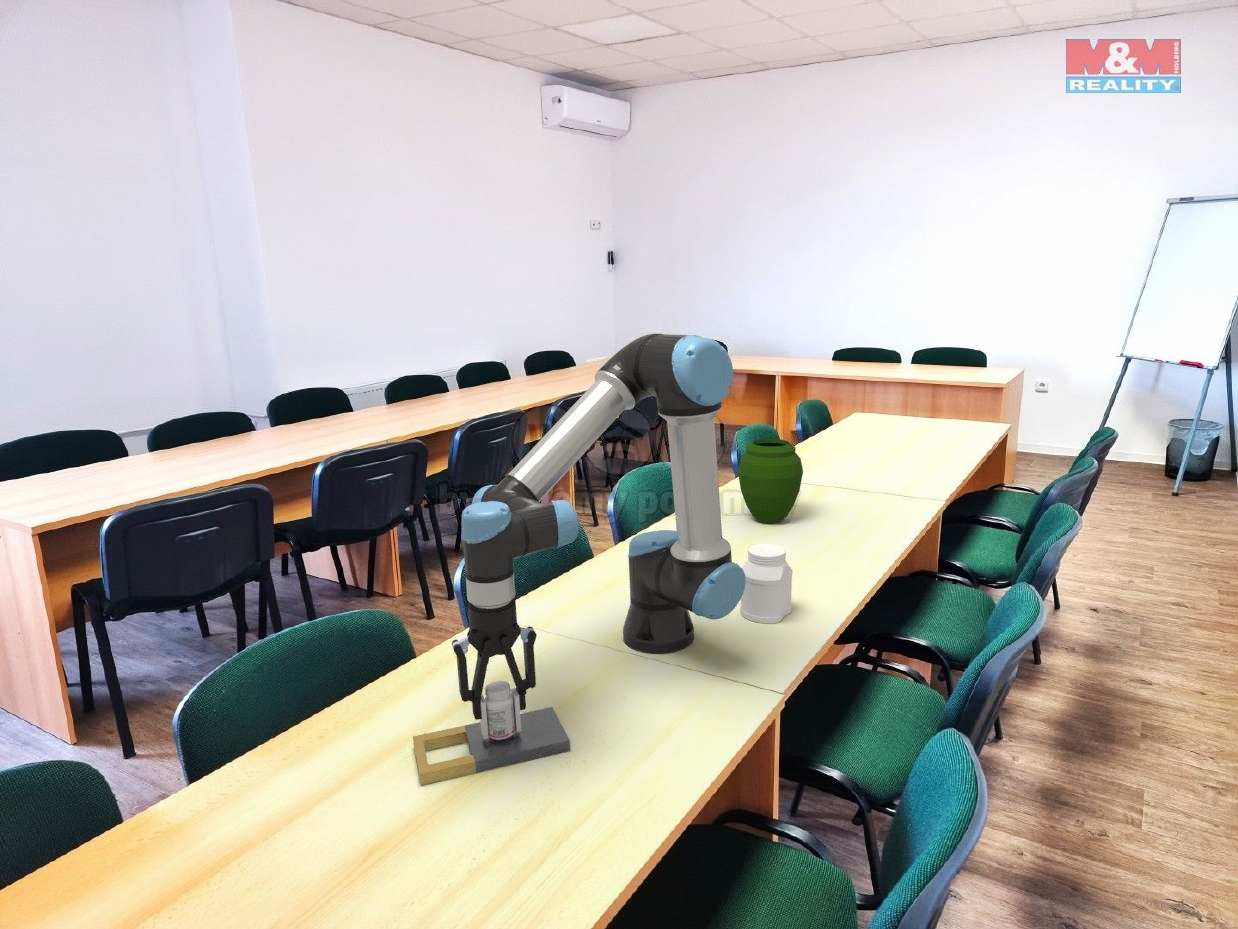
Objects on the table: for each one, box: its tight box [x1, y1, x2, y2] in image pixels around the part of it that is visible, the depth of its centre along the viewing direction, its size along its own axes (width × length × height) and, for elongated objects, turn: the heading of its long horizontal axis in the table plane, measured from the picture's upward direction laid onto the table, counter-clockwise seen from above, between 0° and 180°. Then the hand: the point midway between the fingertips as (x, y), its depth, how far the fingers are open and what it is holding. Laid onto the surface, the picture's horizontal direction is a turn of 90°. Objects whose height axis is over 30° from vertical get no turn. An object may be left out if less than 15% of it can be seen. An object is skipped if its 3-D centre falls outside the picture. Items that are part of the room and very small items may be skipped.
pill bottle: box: [484, 680, 516, 740], centre depth 131 cm, size 5×5×8 cm
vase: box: [737, 438, 804, 524], centre depth 242 cm, size 20×20×24 cm
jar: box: [739, 543, 793, 625], centre depth 178 cm, size 12×10×15 cm
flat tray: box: [412, 706, 571, 786], centre depth 132 cm, size 24×11×2 cm, turn 110°
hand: (501, 730), depth 132 cm, fingers closed on pill bottle, 5 cm apart
